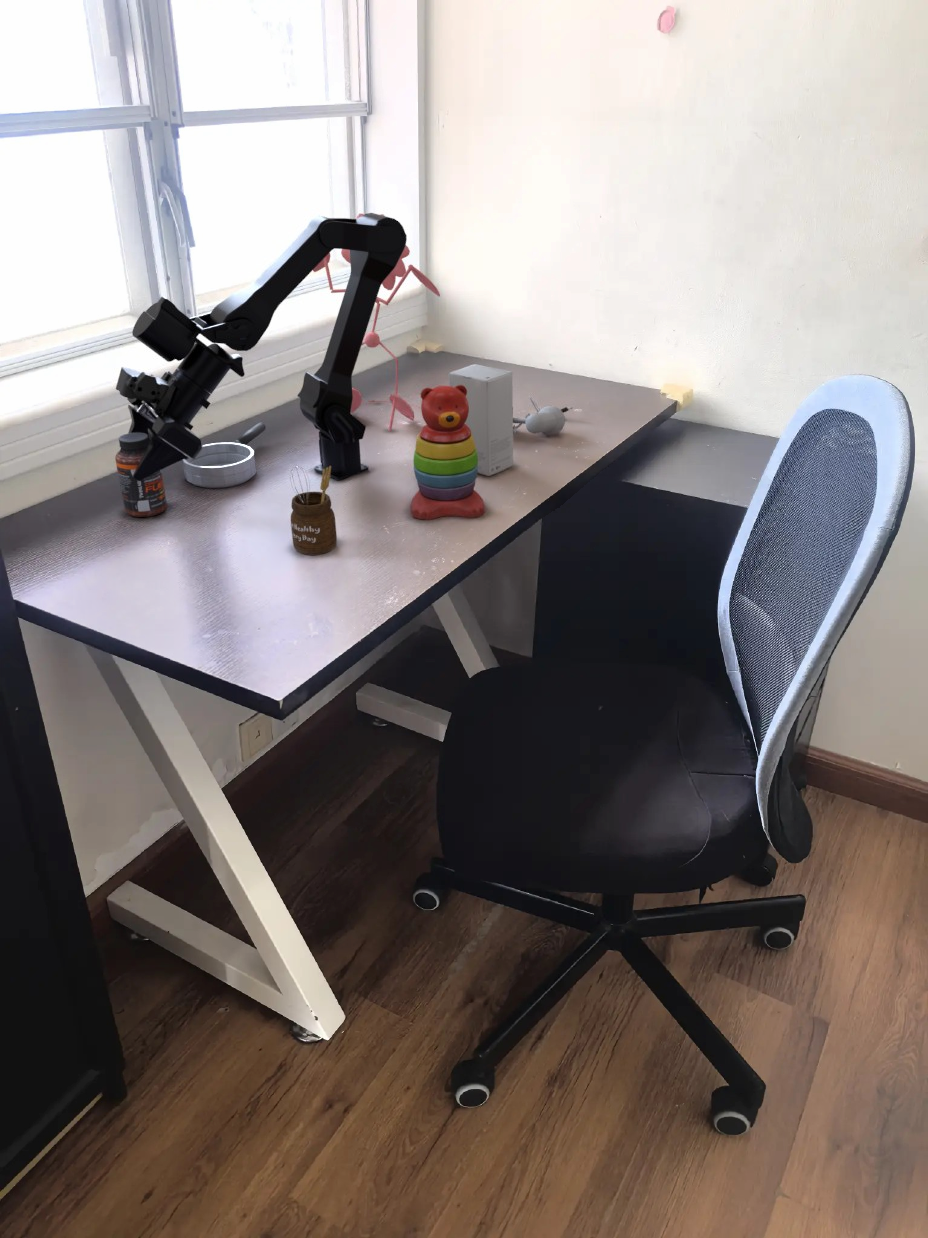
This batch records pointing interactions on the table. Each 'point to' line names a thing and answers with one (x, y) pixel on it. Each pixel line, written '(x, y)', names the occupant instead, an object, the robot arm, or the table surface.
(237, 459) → the pan
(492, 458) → the cosmetic box
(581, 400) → the table surface
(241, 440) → the pan handle
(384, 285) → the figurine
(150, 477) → the supplement bottle
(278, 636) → the table surface
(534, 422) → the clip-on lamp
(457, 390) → the stacking bear
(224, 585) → the table surface
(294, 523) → the utensil holder
